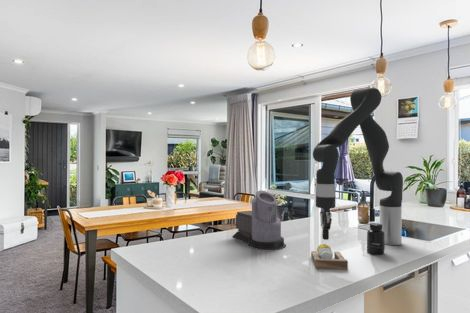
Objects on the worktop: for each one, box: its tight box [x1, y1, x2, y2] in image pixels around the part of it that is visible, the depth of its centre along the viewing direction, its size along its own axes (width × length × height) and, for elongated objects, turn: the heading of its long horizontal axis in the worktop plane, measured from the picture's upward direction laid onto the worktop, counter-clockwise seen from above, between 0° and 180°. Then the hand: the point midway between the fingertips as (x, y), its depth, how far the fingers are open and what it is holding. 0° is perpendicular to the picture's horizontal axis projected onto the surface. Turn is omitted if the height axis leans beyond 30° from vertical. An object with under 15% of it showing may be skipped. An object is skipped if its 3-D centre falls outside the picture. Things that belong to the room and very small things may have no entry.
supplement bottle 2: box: [366, 222, 386, 256], centre depth 134 cm, size 7×7×12 cm
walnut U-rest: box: [310, 250, 349, 271], centre depth 121 cm, size 13×11×3 cm
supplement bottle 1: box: [316, 243, 334, 259], centre depth 125 cm, size 5×5×10 cm
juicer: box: [231, 190, 287, 251], centre depth 152 cm, size 30×16×24 cm, turn 32°
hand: (325, 239), depth 127 cm, fingers closed
